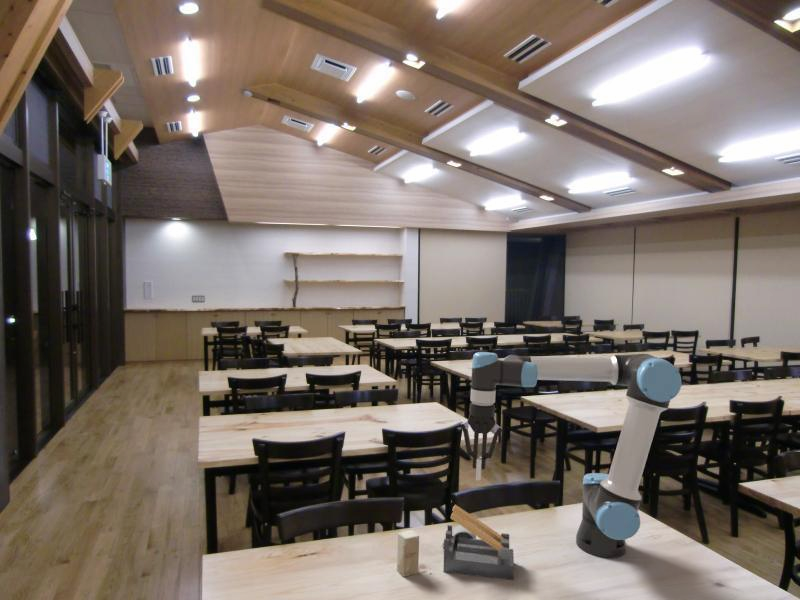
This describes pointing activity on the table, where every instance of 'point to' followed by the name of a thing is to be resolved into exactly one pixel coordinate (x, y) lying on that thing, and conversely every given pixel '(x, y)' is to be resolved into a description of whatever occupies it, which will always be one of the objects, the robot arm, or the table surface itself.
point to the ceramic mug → (461, 534)
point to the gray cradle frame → (481, 559)
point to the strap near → (477, 532)
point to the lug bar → (449, 543)
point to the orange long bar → (478, 523)
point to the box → (408, 553)
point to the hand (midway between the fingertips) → (478, 478)
